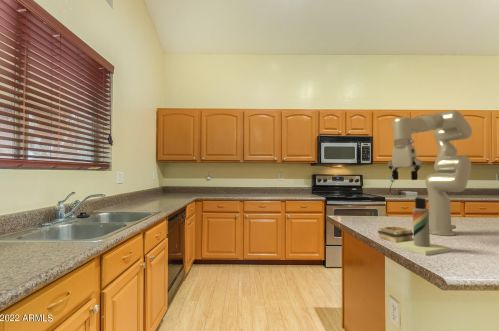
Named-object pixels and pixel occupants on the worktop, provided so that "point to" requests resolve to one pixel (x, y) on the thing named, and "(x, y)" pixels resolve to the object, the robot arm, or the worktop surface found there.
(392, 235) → the holder
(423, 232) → the lotion bottle
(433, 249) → the board
